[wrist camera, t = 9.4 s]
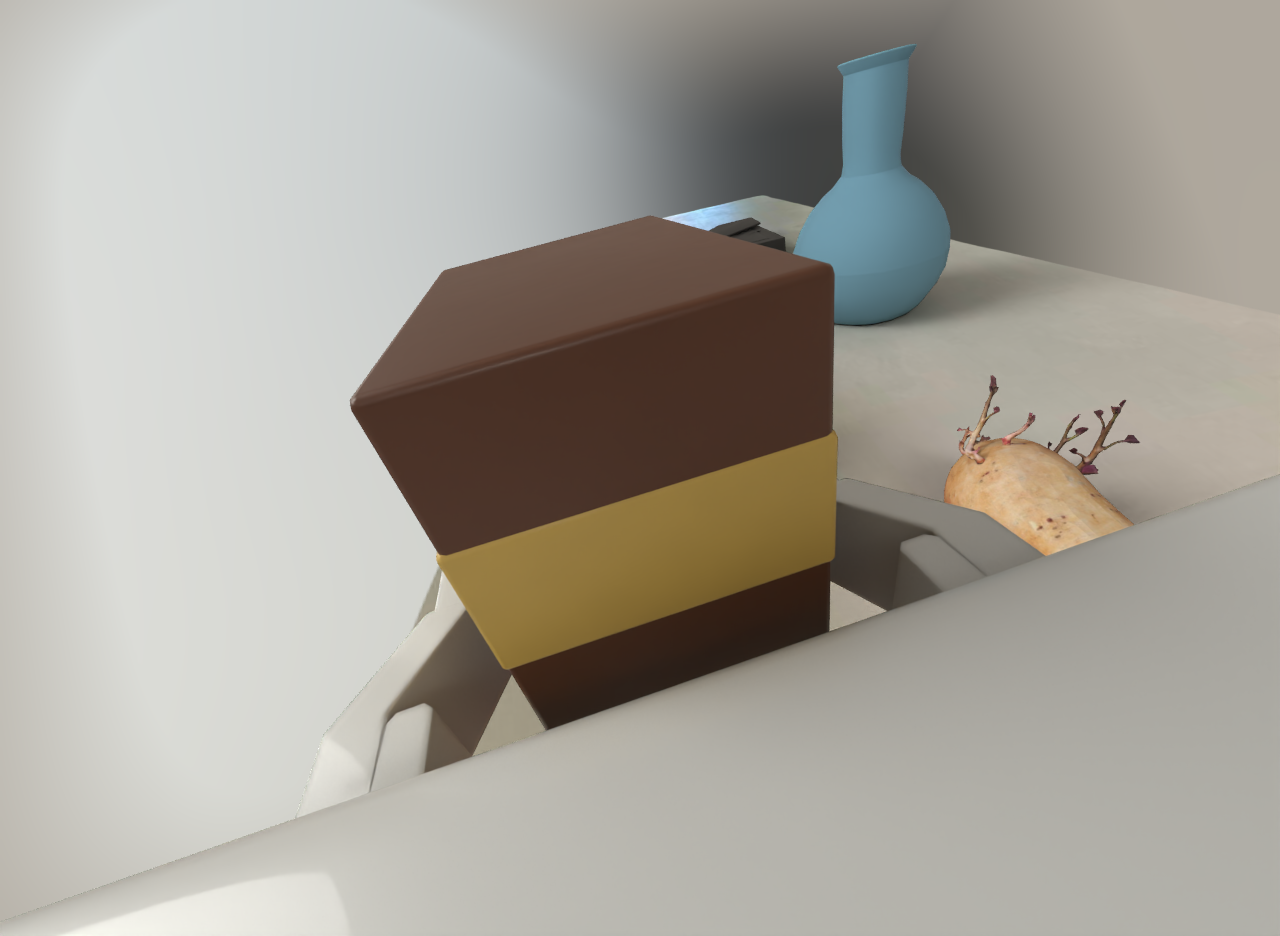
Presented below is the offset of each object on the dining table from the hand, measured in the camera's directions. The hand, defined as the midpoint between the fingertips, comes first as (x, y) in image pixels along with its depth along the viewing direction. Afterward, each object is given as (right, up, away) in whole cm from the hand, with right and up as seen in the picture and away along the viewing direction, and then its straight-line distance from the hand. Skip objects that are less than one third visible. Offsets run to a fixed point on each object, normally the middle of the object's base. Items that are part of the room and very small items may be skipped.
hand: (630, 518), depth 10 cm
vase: (+28, +21, +51) cm, 61 cm away
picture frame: (+13, +44, +92) cm, 103 cm away
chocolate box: (+2, -5, +3) cm, 6 cm away
